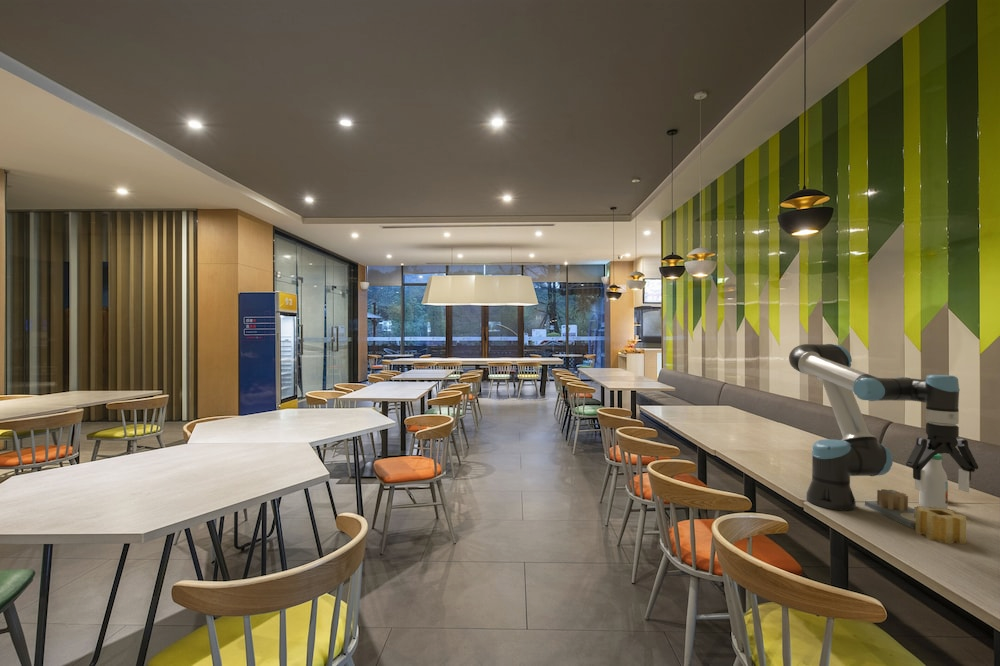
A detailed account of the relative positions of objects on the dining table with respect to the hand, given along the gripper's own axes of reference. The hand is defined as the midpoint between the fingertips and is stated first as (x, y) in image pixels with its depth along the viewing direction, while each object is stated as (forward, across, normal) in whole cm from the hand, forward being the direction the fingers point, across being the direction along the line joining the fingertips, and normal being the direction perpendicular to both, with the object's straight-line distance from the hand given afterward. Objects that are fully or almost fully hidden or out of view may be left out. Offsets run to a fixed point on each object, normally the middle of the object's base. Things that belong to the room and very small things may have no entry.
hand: (941, 490), depth 145 cm
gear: (+15, 0, 0) cm, 15 cm away
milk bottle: (+15, +20, +25) cm, 35 cm away
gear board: (+14, +2, +16) cm, 22 cm away
